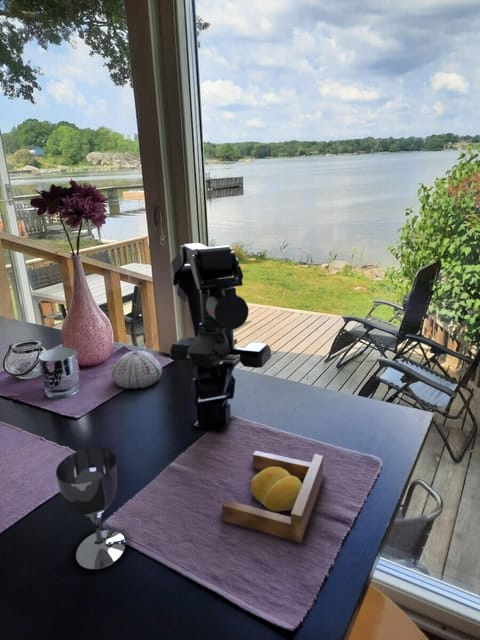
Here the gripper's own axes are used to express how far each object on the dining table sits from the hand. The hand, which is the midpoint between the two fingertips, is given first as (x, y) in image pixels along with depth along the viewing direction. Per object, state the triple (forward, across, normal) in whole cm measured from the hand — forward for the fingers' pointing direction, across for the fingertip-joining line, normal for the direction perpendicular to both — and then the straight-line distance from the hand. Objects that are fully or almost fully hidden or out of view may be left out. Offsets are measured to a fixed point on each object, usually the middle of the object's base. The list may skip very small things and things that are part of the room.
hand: (222, 393), depth 85 cm
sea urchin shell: (+10, -34, +20) cm, 41 cm away
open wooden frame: (+13, +14, -10) cm, 21 cm away
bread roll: (+13, +14, -9) cm, 21 cm away
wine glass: (+14, -8, -29) cm, 33 cm away
